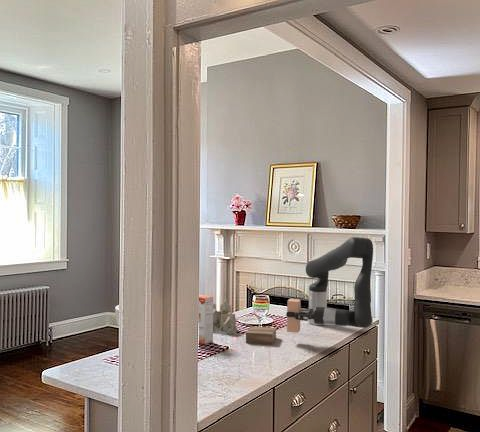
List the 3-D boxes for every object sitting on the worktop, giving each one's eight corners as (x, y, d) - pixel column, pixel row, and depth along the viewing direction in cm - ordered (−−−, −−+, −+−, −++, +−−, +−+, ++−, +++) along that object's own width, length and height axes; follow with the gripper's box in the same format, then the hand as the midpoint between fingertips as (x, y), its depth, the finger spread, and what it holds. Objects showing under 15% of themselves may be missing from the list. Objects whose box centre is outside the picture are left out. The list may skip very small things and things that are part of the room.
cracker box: (182, 339, 227) (182, 294, 226) (191, 336, 231) (191, 292, 231) (204, 345, 218) (204, 298, 217) (213, 342, 223) (213, 296, 222)
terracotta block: (289, 328, 226) (289, 298, 226) (300, 330, 225) (300, 299, 224) (286, 331, 221) (287, 300, 221) (297, 332, 220) (298, 301, 219)
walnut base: (250, 336, 234) (250, 326, 234) (276, 338, 231) (276, 327, 231) (245, 343, 222) (245, 332, 222) (272, 345, 219) (272, 334, 219)
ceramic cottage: (203, 326, 251) (205, 297, 250) (236, 327, 252) (237, 298, 251) (203, 336, 236) (205, 305, 234) (237, 337, 237) (239, 306, 235)
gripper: (328, 304, 225) (291, 301, 230) (323, 311, 211) (284, 307, 217) (327, 320, 225) (291, 317, 230) (322, 328, 211) (284, 324, 217)
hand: (288, 312), depth 223 cm, fingers closed on terracotta block, 5 cm apart
